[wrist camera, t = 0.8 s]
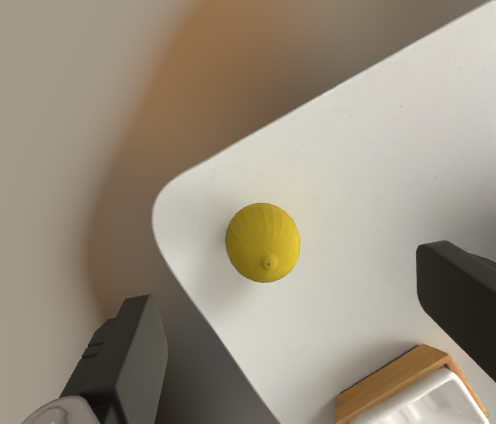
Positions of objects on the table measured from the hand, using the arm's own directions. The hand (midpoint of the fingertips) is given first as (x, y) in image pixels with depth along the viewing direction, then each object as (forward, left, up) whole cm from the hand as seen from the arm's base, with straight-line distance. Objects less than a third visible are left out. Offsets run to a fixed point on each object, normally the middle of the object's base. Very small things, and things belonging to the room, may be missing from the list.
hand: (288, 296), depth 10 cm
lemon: (+4, -1, -19) cm, 20 cm away
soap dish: (+28, +3, -19) cm, 34 cm away
